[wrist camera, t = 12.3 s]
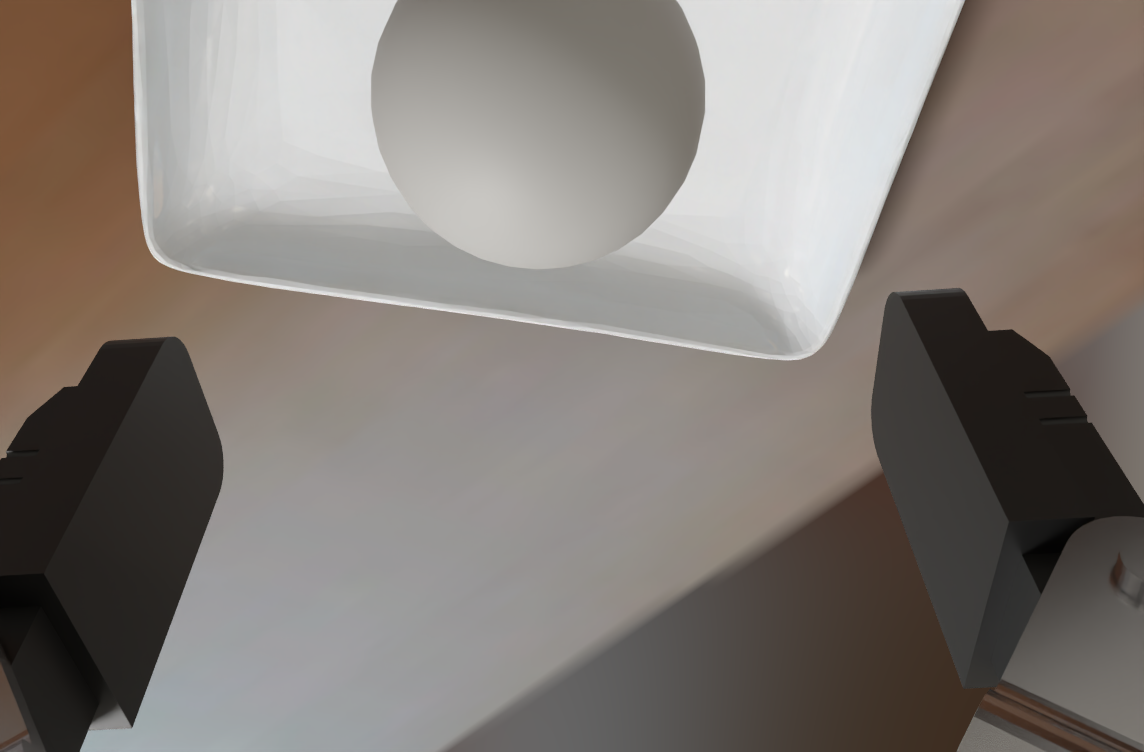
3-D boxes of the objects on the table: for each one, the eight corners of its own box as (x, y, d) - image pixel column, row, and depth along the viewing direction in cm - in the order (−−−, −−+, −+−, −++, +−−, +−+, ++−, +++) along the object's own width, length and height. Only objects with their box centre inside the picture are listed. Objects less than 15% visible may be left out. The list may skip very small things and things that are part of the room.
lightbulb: (438, -188, 23) (363, -61, 14) (698, -124, 24) (778, 32, 15) (405, 71, 27) (329, 300, 18) (633, 118, 28) (667, 359, 19)
